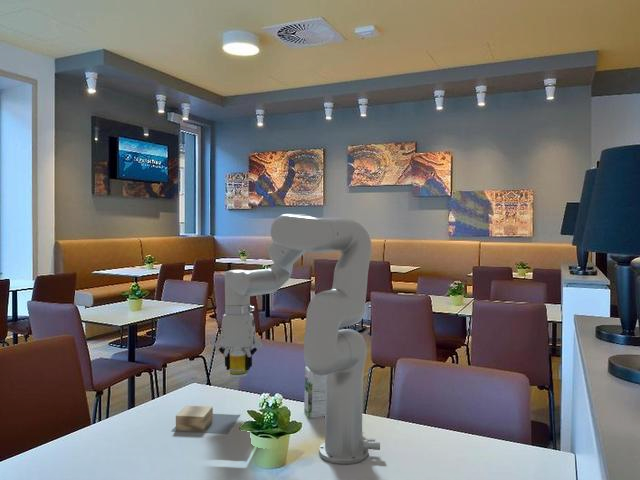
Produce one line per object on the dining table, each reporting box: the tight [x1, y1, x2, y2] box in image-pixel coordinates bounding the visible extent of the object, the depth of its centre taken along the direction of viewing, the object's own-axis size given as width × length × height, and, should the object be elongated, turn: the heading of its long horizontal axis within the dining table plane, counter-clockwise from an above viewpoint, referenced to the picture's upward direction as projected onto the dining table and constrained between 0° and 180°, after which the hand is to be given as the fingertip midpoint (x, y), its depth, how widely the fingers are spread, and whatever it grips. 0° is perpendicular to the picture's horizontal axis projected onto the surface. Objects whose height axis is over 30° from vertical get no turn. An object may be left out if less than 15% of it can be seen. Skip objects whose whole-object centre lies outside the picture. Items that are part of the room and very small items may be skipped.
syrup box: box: [303, 366, 327, 419], centre depth 156 cm, size 6×6×14 cm
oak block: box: [175, 405, 214, 431], centre depth 144 cm, size 8×8×4 cm
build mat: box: [171, 413, 241, 435], centre depth 146 cm, size 16×14×1 cm
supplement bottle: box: [229, 346, 248, 378], centre depth 155 cm, size 5×5×10 cm
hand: (238, 368), depth 156 cm, fingers closed on supplement bottle, 5 cm apart
